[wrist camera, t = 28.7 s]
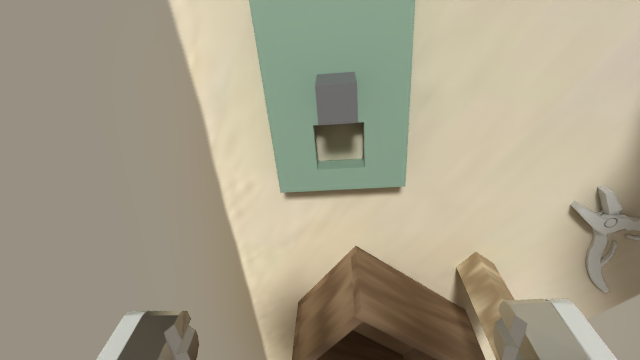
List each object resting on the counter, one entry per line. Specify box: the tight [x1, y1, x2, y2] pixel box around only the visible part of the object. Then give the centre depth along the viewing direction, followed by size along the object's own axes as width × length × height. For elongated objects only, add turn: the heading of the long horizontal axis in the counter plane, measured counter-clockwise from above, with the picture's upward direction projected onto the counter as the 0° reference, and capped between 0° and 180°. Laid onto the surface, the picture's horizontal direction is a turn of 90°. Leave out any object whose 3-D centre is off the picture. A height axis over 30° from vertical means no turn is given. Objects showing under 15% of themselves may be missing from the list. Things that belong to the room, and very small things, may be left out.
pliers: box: [571, 185, 640, 293], centre depth 37 cm, size 10×2×15 cm
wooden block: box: [456, 252, 514, 360], centre depth 34 cm, size 3×3×13 cm
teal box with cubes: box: [249, 0, 415, 193], centre depth 28 cm, size 12×18×6 cm, turn 5°
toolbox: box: [292, 246, 485, 360], centre depth 40 cm, size 12×18×9 cm, turn 55°
